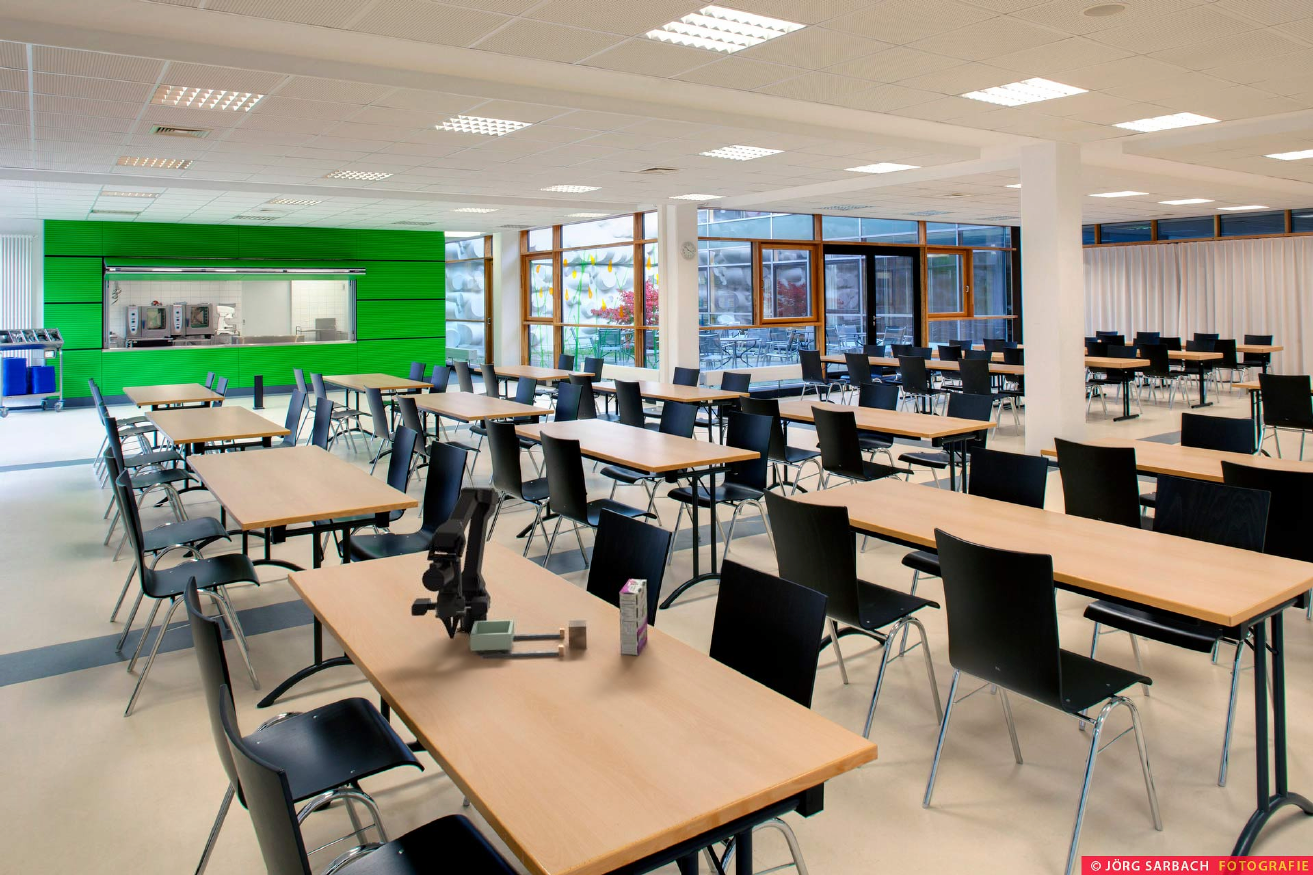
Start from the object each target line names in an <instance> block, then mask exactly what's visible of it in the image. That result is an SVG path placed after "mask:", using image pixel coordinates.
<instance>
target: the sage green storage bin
mask: <svg viewBox="0 0 1313 875" xmlns="http://www.w3.org/2000/svg"><path fill="white" fill-rule="evenodd" d="M469 634H470V635H469V637H470V640H469V641H470V643H469V644H470V651H471V652H472V651H473V652H474V653H475V654H477V655H482V654H483V653H485V651H495V650H496V651H498V653H504V652H508V651H509V650H512V647H513V642H514V640H513V638H514V635H515V619H502V620H500V619H497V620H487V621H475V622H474V625H473V628H472V631H471V633H469Z"/></svg>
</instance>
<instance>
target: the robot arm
mask: <svg viewBox="0 0 1313 875" xmlns="http://www.w3.org/2000/svg"><path fill="white" fill-rule="evenodd" d="M499 495H500V494H499V492H497V491H496V489H495V488H494V487H477V486H476V487H475V486H474V487H473V486H464V487H462V488H461V489H460V494H459V498H458V500H457V502H456V503H455V506H454V508H453V510H452V512H451V514H450V515H449V517H448V520H447V521H445V522H444V523H442V524H440V525H439V526H438V528H437V529H436V530H435V532H434V534H433V535H432V537H431V540H430V544H429V549H428V554H427V557H426V560H427V561H428V562H430V563H429V564H428V565H429V567H428V569H427V570H425V571H424V572H423V574H422V577H421V581H422V585H423V587H424V588H425V589H427V591H429V592H434V593H435V592H437V596H436V601H435V602H434V601H432V599H431V598H430V597H424V598H423V597H420V598H419V597H418V598H416V599H415V600H414V601H413V603H412V605H411V606H410V607H411V608H410V609H411V610H410V611H411V616H412V617H421V616H425V615H426V614H427V613H428V611H435V615H434V618H436V619H439V620H441V622H442V623H443V625H444V628H445V630H446V632H447V634H448V637H449V639H450V640H453V639H454V638H455V634H456V632H460V633H467V634H471V631H472V628H473V625H474V622H475V621H488V615H487V614H488V613H489V609H490V608H491V604H492V603H491V602H492V601H491V598H492V597H491V596H490V594H489V592H488V591H487V589H486V581H485V579H484V577H483V574H482V567H483V560H484V553H485V546H486V540H487V531H488V523H489V522H488V521H489V520H491V518H492V516H493V515H494V514H495V513H496V508H497V505H498V504H499V500H500V499H499V498H500V496H499ZM468 525H469V526H468ZM467 526H468V535H467V537H466V534H465V531H466V528H467ZM466 538H467V539H466ZM465 548H466V549H465ZM464 551H465V556H464V563H463V570H462V560H461V558H463V554H464ZM458 625H459V627H458Z"/></svg>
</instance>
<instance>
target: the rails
mask: <svg viewBox="0 0 1313 875" xmlns="http://www.w3.org/2000/svg"><path fill="white" fill-rule="evenodd" d="M565 635H566V634H565V627H559V632H555V633H554V632H553V633H551V632H550V633H527V634H526V633H524V634H523V633H522V634H514V638H513V641H514V640H515V641H516V640H517V641H518V640H546V639H547V640H549V639H550V640H551V639H565V638H566V637H565ZM564 650H565V647H564V644H559V645H558V650H542V651H541V650H537V651H515V652H513V651H509V652H504V653H500V652H483V653H482V654H481V655H482V656H481V657H482V659H483V660H484V659H485V660H486V659H487V660H488V659H511V658H512V659H513V658H535V657H536V658H538V657H540V658H541V657H542V658H543V657H564V656H565V655H564V654H565V653H564V652H565V651H564Z"/></svg>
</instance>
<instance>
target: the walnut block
mask: <svg viewBox="0 0 1313 875" xmlns="http://www.w3.org/2000/svg"><path fill="white" fill-rule="evenodd" d="M587 641H588V640H587V619H584V620H583V619H580V620H579V619H578V620H575V619H574V620H568V650H587V648H588V647H587V645H588V644H587Z"/></svg>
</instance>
